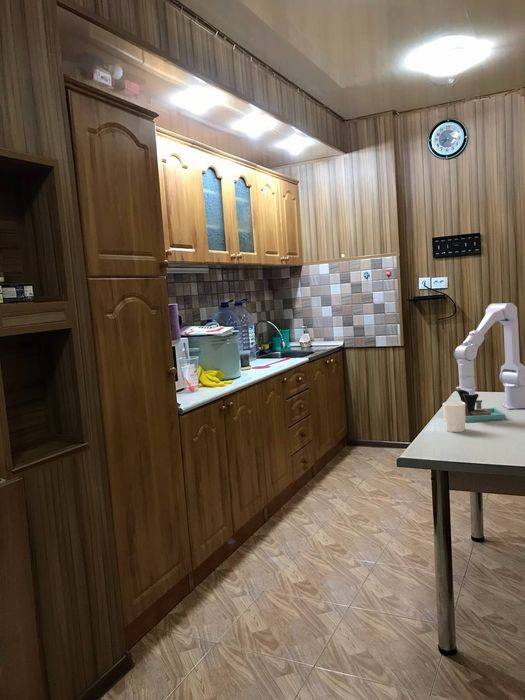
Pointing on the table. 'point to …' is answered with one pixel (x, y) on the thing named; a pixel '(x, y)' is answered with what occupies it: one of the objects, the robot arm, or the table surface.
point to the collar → (477, 412)
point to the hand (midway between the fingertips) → (468, 409)
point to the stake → (478, 404)
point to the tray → (487, 416)
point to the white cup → (454, 416)
